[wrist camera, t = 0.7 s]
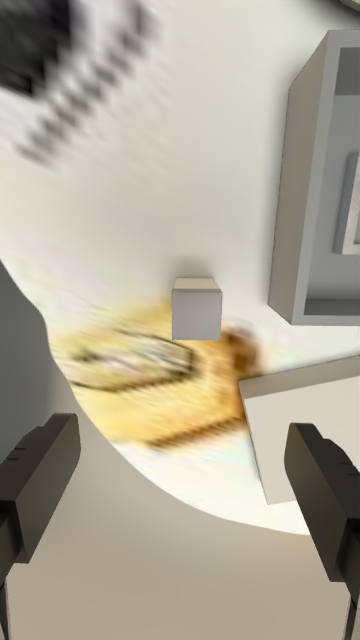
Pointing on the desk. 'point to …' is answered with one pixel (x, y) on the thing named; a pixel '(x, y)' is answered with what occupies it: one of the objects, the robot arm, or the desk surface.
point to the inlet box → (321, 191)
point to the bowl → (351, 4)
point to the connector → (196, 309)
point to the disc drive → (301, 415)
